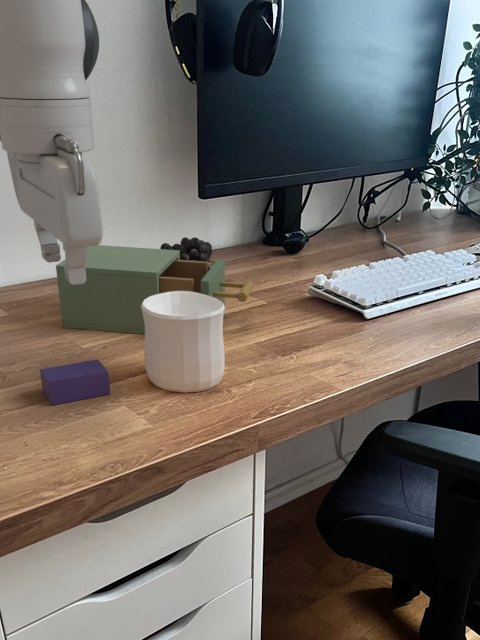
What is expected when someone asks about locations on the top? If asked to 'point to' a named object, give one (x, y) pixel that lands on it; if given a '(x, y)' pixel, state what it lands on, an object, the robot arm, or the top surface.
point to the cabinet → (113, 288)
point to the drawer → (201, 280)
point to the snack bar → (75, 381)
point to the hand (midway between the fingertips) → (63, 271)
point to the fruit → (192, 250)
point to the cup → (184, 341)
